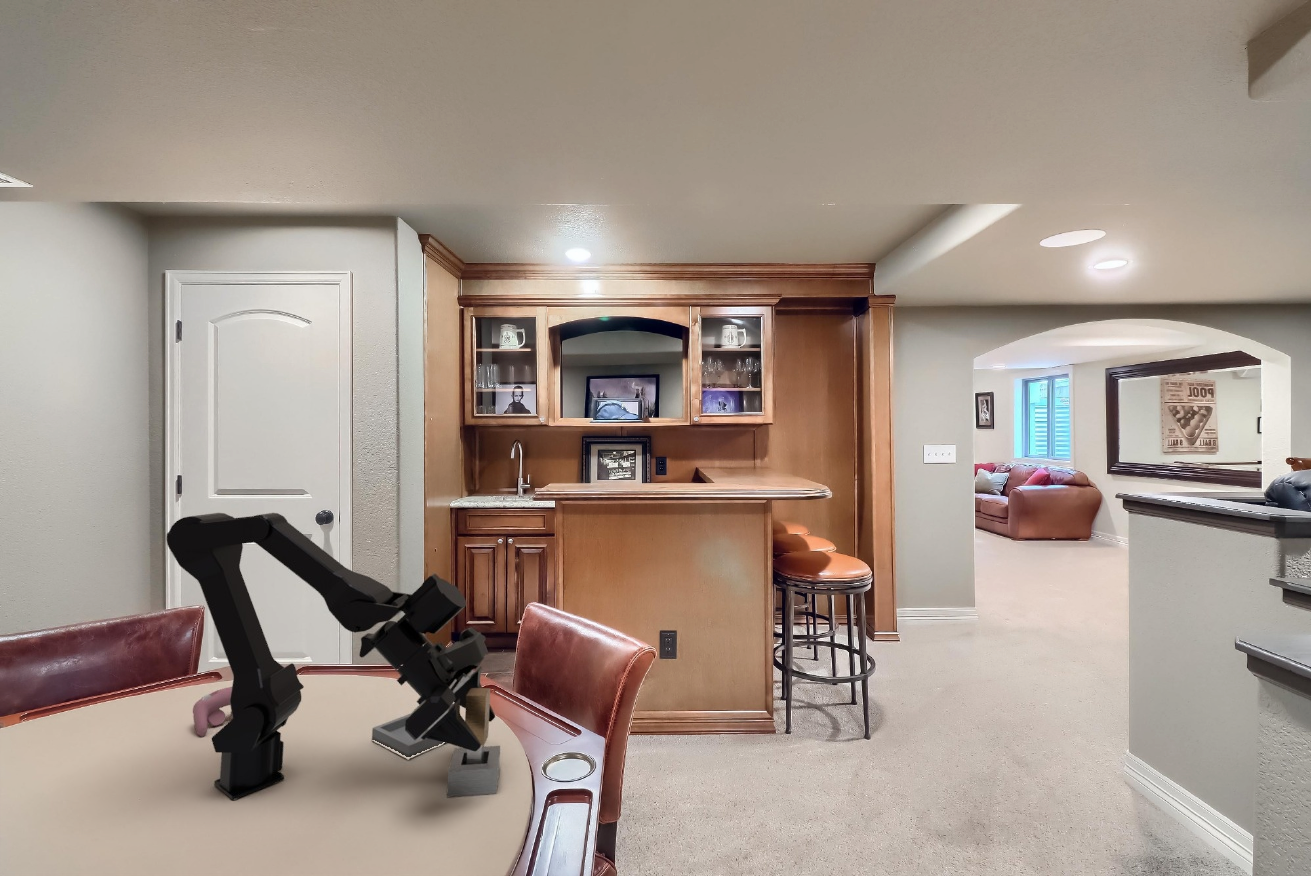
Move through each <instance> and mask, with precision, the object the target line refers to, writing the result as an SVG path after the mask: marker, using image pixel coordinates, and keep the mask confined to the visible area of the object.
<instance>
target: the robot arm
mask: <svg viewBox="0 0 1311 876" xmlns="http://www.w3.org/2000/svg"><path fill="white" fill-rule="evenodd" d="M285 517H286V516H284V515H282V514H280V513H277V512H269V513H263V514H257V515H252V516H244V517H243V516H242V517H234V516H233V515H232V516H231V515H229V514H227V513H224V512H214V513H206V514H199V515H192V516H185V517H182V518H180V519H177V521H176V522H174V523H173V524H172V525H171V527H170V530H169V531H168V532H167V533H166V544H167V546H168V549H169V551H170V552H171V554H172V555H173V557H174V559H175V560H176V562H177V564H178V565H179V566H180V567H181V568H182V569H183V570H184V571H186V573H188V574H189V575H190V576H192V577H193V578H194V579H195V580H196V581H197V583H198V584H199V586H200V589H201V591H202V594H203V596H204V600H205V602H206V604H207V607H208V610H209V613H210V616H211V618H212V621H213V624H214V627H215V629H216V632H217V636H218V637H219V640H220V643H221V645H222V648H223V651H224V654H225V656H226V659H227V662H228V664H229V668H230V670H231V673H232V676H233V680H232V686H231V687H232V691H231V697H230V705H229V706H230V713H231V712H232V717H233V719H232V718H231V720H229V721H228V723H226V724H225V725H224V726H223V727H222V728H221V729H219V730H218V731H217V732H216V733H215V734H214V735H213V736H212V737H211V742H212V745H213V749H214V752H215V753H219V754H221V758H220V760H221V761H220V771H219V774H220V775H219V778H217V779H215V780H214V783H213V785H214V786H215V787H216V788H217V789H218V790H220V791H221V792H222V793H224V794H225V795H226V796H227V797H228V798H230V799H231V800H236V799H239V798H241V797H243V796H244V797H245V796H246V795H249V794H251V793H254V792H257V791H259V790H261V789H264V788H266V787H269V786H271V785H274V784H277V783H279V782H281V781H284V779H285V774H283V773H281V772H280V771H282V770H283V761H284V759H283V758H284V748H285V747H284V745H285V743H284V741H282V740H281V737H282V732H280V731H279V729H280V728H282V727H284V726H285V725H286V724H287V721H288V720H289V717H291V716H292V715H293V714H294V713H295V712H296V711H297V710H298V708H299V706H300V703H301V702H302V692H301V690H302V689H304V688H305V687H304V684H302V683H301V682H300V680H299V678H298V673H297V668H296V666H295V664H294V663H289V664H288V665H286V666H285V667H284V666H283V665H282V664H280V663H279V662H278V661H276V659H275V658H274V657H273V655H272V653H271V650H270V646H269V644H268V642H267V638H266V637H265V634H264V630H263V628H262V626H261V623H260V620H259V618H258V617H259V616H258V614H257V612H256V609H255V605H254V604H253V601H252V598H251V595H250V593H249V590H248V587H247V585H246V582H245V580H244V577H243V574H242V571H241V566H240V565H241V561H242V559H241V558H242V553H243V548H244V544H251V543H254V544H256V545H258V546H259V547H260V548H262V549H263V550H264V551H265V552H266V553H268V554H269V555H271V556H272V557H273V558H274V559H275V560H277V561H278V562H279V563H281V564H282V565H283V566H284V567H286V568H288V570H290V571H291V572H292V573H293V574H295V575H296V576H297V577H298V578H299V579H301V580H302V581H303V582H305V583H306V584H308V585H309V586H310V587H311V588H312V589H314V590H315V591H316V592H318V594H320V596H321V597H322V598H323V600H324V602H325V605H326V607H327V609H328V611H329V612H330V614H331V615H332V616H334V619H336V620H337V621H338V623H339V624H340V625H341V626H342V627H343V628H344V629H345V630H347V631H349V632H351V633H362V632H366V631H368V630H371V629H372V628H374V627H375V626H377V625H378V624H380V623H383V625H382V626H380V627H379V628H378V629H377V630H376V631H375V632H373V633H370V632H369V633H368V632H367V633H366V634H364V635H363V636H361V638H360V642H361V646H360V649H359V654H358V656H359V657H360V658H361V659H362V658H364V657H366V656H368V655H369V654H370V653H371V652H372V651H374V650H376V651H377V652H378V653H379V654H380V655H381V657H383V658H384V660H385V661H386V662H387V663H388V664H389V665H390V666H391V667H392V668H393V669H394V670H395V671H396V672H397V674H399V675H400V676H399V677H398V678H397V679H396V682H397V683H398V684H399V685H400V686H403V685H404V684H405V683H407V684H408V685H409V686H410V687H411V688H412V689H413V690H414V691H415V692H416V693H417V694H418V696H419V697H418V699H417V700H416V703H417V704H418V706H417V707H415V708H414V709H413V710H412V712H410V713H409V714H410V716H409V717H408V718H407V719H406V722H405V731H406V732H407V733H408V734H409V735H410V736H411V737H412V738H413V739H414V740H416V739H417V738H418V737H419V736H421V735H422V734H423V733H424V734H423V735H422V736H421V739H423V740H424V739H426V738H428V739H432V740H436V741H441V742H445V743H446V744H449V745H452V746H456V747H457V748H465V749H468V750H471V751H477V750H478V749H479V748H480V747H481V743H480V742H479V740H478V739H477V737H476V736H475V734H474V733H473V731H472V730H471V729H470V727H469V726H468V725H467V723H466V722H465V718H463V716H462V715H461V707H462V708H464V709H465V710H466V695H467V694H468V692H469V691H470V689H471V688H483V687H482V684H481V675H482V671H483V667H482V666H481V663H482V662H483V660H484V659H485V656H486V655H488V653H489V651H488V648H487V645H486V644H485V641H486V639H487V638H486V636H485V635H483V634H482V632H481V631H477V630H476V629H474V628H473V627H472V626H471V627H468V628H466V629H464V630H463V631H462V632H460V634H459V641H455V642H454V643H453V644H451V645H449V646H447V647H446V646H445V645H444V644H443V642H441V641H440V642H439V641H437V642H435V643H434V644H433V642H431V640H429V638H427V636H426V634H427V633H429V634H431V635H433V634H434V635H435V634H437V633H439V631H441V630H442V629H443V628H444V627H445V626H446V625H447V624H449V622H450V621H452V619H453V618H455V617H456V616H457V615H458V614H459V613H461V611H462V610H463V609H465V607H467V601H466V598H465V596H464V594H463V592H461V591H460V589H459V588H458V587H457V586H456V585H455V584H452V583H450V581H448V580H446V579H443V578H440V577H439V575H437V574H436V573H433V574H431V575H429V576H428V577H427V578H426V579H425V580H424V581H423V583H422V584H421V585H420V587H418V588H417V589H416V590H415V591H413V593H412V594H411V593H404V592H398V591H393V590H391V588H390V587H388V586H387V585H385V584H383V583H381V582H380V581H378V580H376V579H373V578H371V577H370V576H368V575H364V574H362V573H359V572H355V571H352V570H351V569H349V568H347V567H346V566H344V565H343V564H342V563H340V562H339V561H338V560H336V559H335V558H334V557H332V556H331V554H329V553H327V552H326V551H325V550H324V549H322V548H321V547H320V546H319V545H317V544H316V543H315V542H313V541H312V540H311V539H310V538H308V537H307V536H306V535H305V534H303V533H302V532H301V531H300V530H299V529H297V528H296V527H295V526H293V525H292V524H291V523H290V522H288V520H287V518H285ZM401 613H404V614H403V616H401V618H400V619H399V620H397V621H396V620H395V621H393V620H392V619H393V618H395V617H396V616H398V615H399V614H401ZM474 670H475V671H474ZM495 718H496V714H495V712H494V710H493V708H492V706H491V704H490V706H489V723H490V722H492V721H493V720H494V719H495Z"/></svg>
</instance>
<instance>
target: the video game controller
mask: <svg viewBox="0 0 1311 876" xmlns="http://www.w3.org/2000/svg"><path fill="white" fill-rule="evenodd" d="M231 691H232V686H229V687H224V688H221V689H218V690H215V691H212V692H210V693H209V694H206V695H204V696H202V697H201V698H200V699H199V700H198V701H196V702H195V704H194V705H193V708H192V714H193V716H192V717H193V723H194V727H195V731H196V733H197V735H198V736H199V737H205V735H206V734H207V731H208V725H209V726H210V727H217V726H219V725H220V724H222V723H223V722H224V721H225V720H226V713H225V712H224V710H223V709H222V708H223V707H227V706H230V697H231ZM221 709H222V710H221ZM230 717H231V718H230V719H231V720H232V719H233V717H232V712H231V711H230Z"/></svg>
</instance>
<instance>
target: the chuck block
mask: <svg viewBox="0 0 1311 876" xmlns="http://www.w3.org/2000/svg"><path fill="white" fill-rule="evenodd" d="M500 756H501V745H491V746H490V745H488V746H484V764H472V765H467V749H465V748H462V747H457V748H454V750H453V754H452V757H451V762H450V763H449V767H448V768H449V769H448V772H447V773H448V775H447V789H446V790H447V791H446V792H447V793H446V795H447V796H446V798H455V797H457V798H458V797H469V796H481V795H494V794H497V788H498V782H499V773H500V760H501V759H500V758H501V757H500Z"/></svg>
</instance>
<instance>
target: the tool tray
mask: <svg viewBox="0 0 1311 876" xmlns="http://www.w3.org/2000/svg"><path fill="white" fill-rule="evenodd" d="M410 714H411V713H408V714H406V715H403V716H400V717H398V718H395V719H392V720H389V721H387V722H385V723H381V724H379V725H377V726H376V725H375V726H374V727H372V730H371V731H372V733H371V741H372V740H375V741H377V742H379V743H381V744H383V745H385V746H387V747H390V748H391V749H394V750H395V751H398V752H399V753H401V754H402V755H405V756H406V757H411V756H412V755H416V754H417V753H421V752H422V751H425V750H427V749H430V748H432V747H434V746H438V745H439V744H442V743H443V742H441V741H436V740H432V739H428V738H426V739H424V740H423V739H421V736H422V735H423V734H424V733H423V734H422V735H421V736H419V737H418V738H417V739H416V740H414V739H413V738H412V737H411V736H410V735H409V734H408V733H407V732H406V731H405V722H406V719H407V718H408V717H409V716H410Z"/></svg>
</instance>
